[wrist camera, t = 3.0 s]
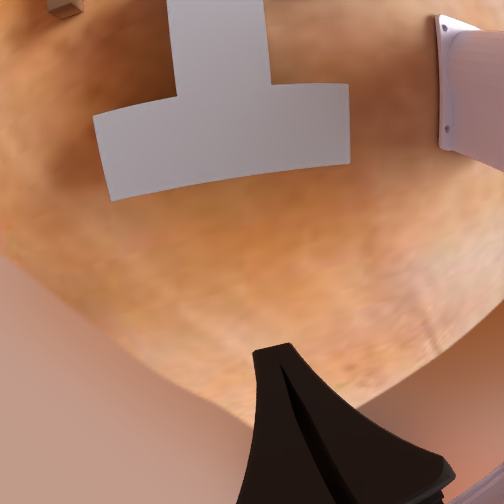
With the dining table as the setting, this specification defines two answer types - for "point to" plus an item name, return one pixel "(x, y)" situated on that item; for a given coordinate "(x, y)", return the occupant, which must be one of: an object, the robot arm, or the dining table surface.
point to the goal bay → (64, 7)
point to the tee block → (221, 110)
